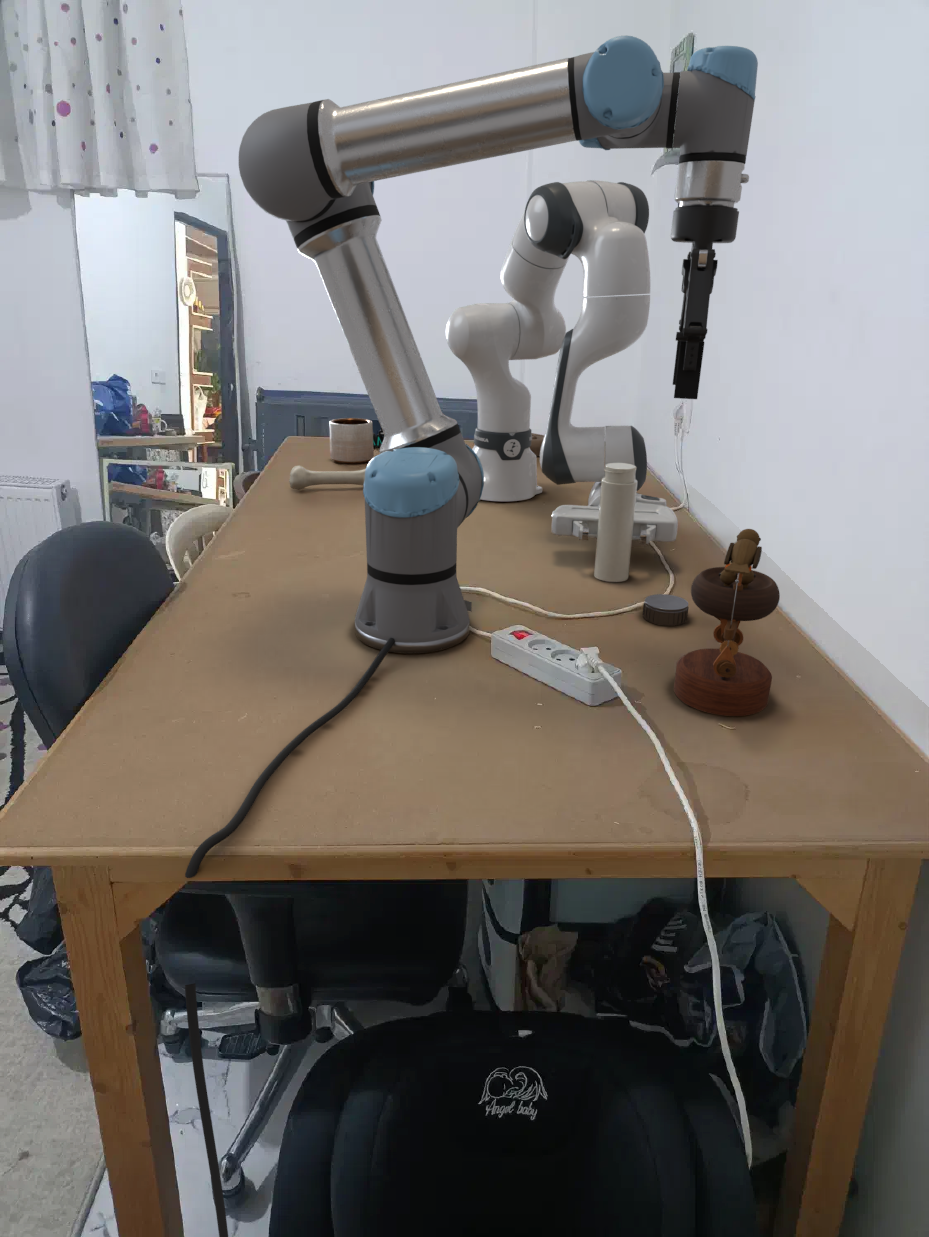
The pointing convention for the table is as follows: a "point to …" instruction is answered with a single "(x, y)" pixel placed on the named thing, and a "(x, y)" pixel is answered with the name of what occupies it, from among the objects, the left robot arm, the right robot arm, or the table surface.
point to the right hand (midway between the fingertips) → (614, 537)
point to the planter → (351, 440)
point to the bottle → (615, 522)
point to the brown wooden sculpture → (729, 635)
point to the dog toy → (324, 477)
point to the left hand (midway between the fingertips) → (684, 391)
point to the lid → (665, 609)
